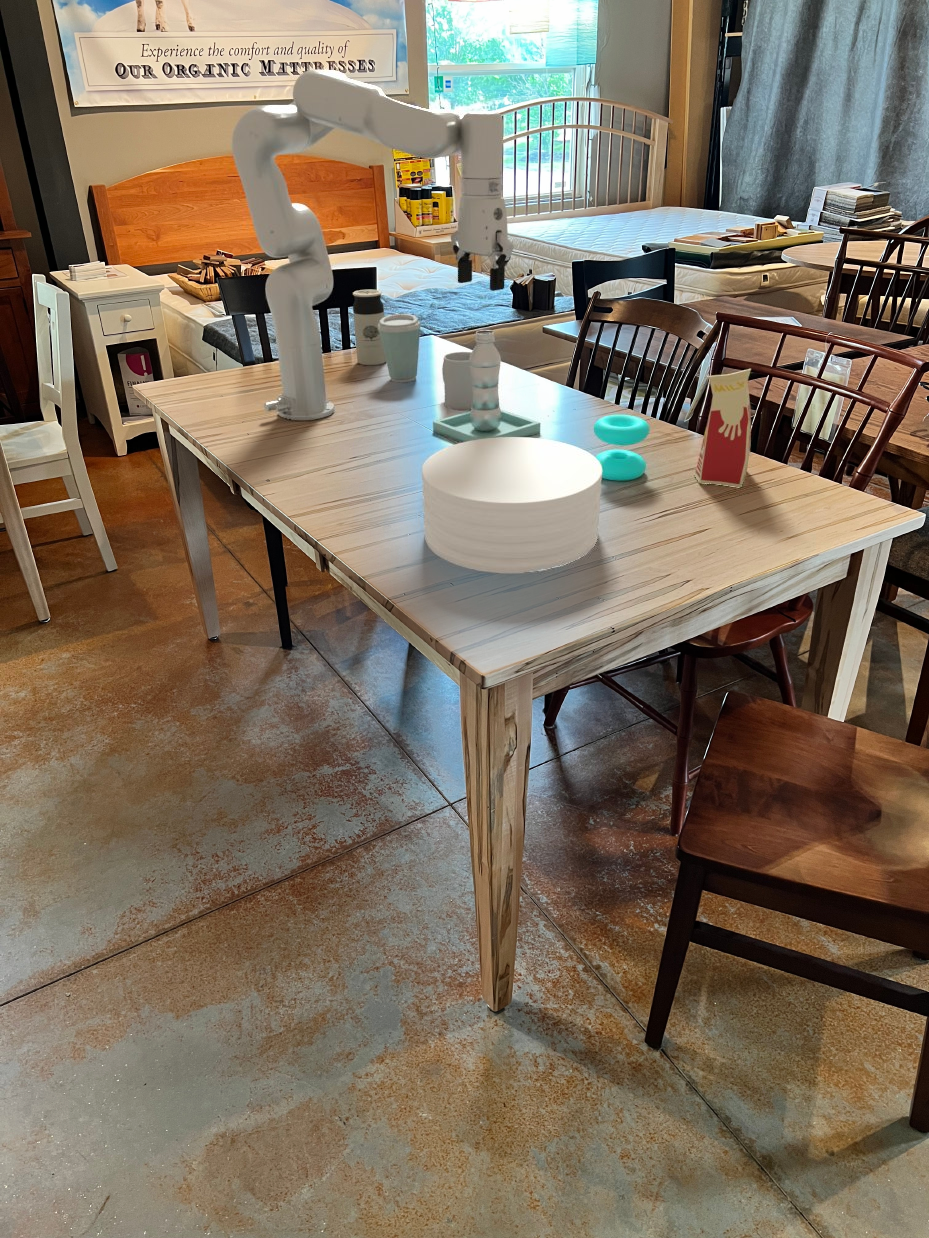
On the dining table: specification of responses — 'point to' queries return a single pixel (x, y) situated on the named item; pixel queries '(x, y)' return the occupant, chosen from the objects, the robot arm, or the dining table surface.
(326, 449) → the dining table surface
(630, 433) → the donuts
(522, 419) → the tray
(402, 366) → the disposable coffee cup
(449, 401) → the mug
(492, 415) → the plastic bottle
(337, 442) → the dining table surface
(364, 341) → the travel mug
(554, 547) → the plate stack
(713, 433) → the milk carton
